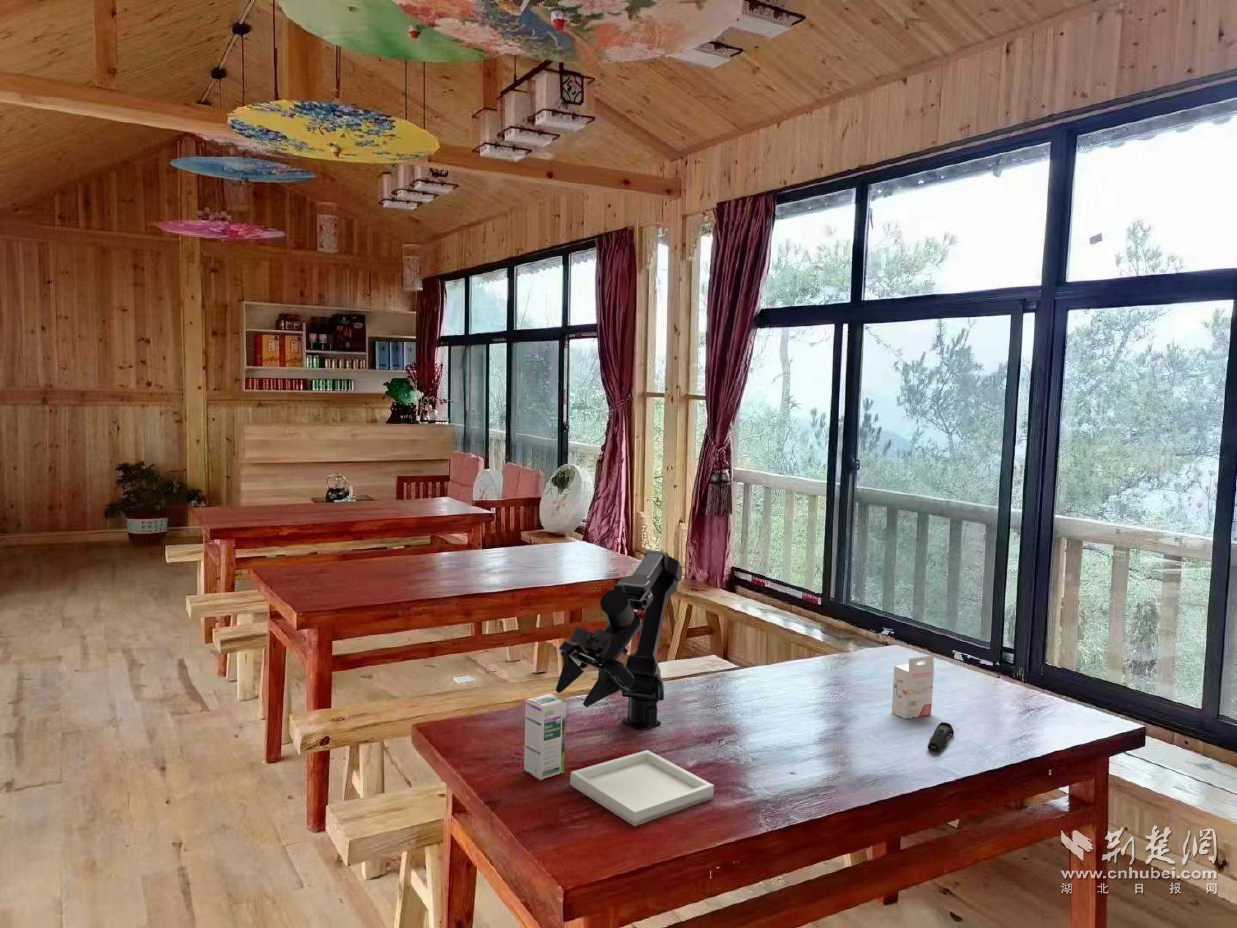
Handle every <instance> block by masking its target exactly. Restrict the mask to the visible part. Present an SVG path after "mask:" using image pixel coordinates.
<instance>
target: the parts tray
mask: <svg viewBox="0 0 1237 928" xmlns="http://www.w3.org/2000/svg"><path fill="white" fill-rule="evenodd" d="M569 781H570V782H569V786H571V785H572V786H571V787H573V788H574V789H575V790H577V791H579V792H580V793H582V794H583V795H585V796H586V797H589V798H590V799H592V800H593V801H595V802H596V803H598V804H599V805H601V806H603V807H604V808H606V809H607V810H608V811H610V812H611V813H613V814H614V815H616V816H618V817H620V818H621V819H623V820H624V821H625V822H627V823H628V824H630V825H631V826H633V827H636V826H640V825H642V824H645V823H647V822H648V823H649V822H651V821H653V820H657V819H659V818H662V817H664V816H668V815H671V814H673V813H676V812H679V811H681V810H684V809H687V808H690V807H693V806H695V805H698V804H701V803H704V802H707V801H709V800H712V799H714V792H715V791H714V789H715V785H714V784H713V783H711V782H709V781H707V780H705V779H703V778H701V777H699V776H697V775H695V774H694V773H691V772H690V771H689V770H686V769H684V768H682V767H680V766H678V765H677V764H675V763H673V762H671V761H669V760H668V759H665V758H663V757H662V756H660V755H657V754H656V753H653V752H652V751H650V750H649V749H646V750H642V751H639V752H635V753H632V754H628V755H625V756H621V757H618V758H615V759H611V760H608V761H604V762H601V763H598V764H594V765H589V766H586V767H584V768H580V769H576V770H573V771H571V772H570V779H569Z"/></svg>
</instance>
